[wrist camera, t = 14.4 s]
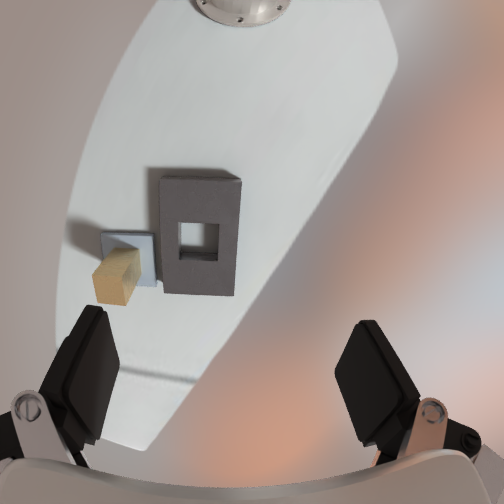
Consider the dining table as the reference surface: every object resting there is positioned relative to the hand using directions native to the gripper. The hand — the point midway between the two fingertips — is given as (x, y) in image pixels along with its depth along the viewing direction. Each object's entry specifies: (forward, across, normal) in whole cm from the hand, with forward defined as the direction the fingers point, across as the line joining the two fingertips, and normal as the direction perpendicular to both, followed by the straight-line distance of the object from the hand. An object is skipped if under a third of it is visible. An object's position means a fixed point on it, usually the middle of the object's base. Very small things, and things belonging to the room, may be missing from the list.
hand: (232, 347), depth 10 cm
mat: (+28, +13, +12) cm, 33 cm away
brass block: (+27, +13, +12) cm, 32 cm away
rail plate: (+28, +3, +8) cm, 29 cm away
